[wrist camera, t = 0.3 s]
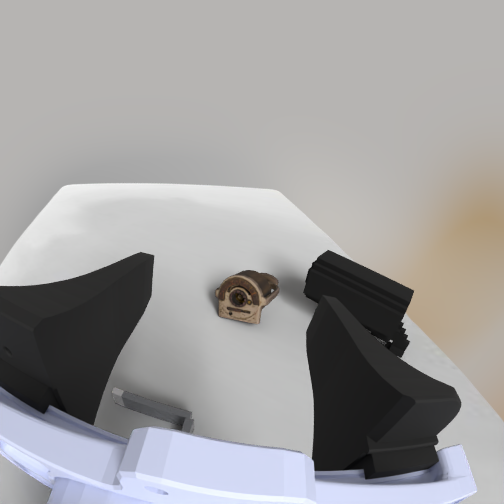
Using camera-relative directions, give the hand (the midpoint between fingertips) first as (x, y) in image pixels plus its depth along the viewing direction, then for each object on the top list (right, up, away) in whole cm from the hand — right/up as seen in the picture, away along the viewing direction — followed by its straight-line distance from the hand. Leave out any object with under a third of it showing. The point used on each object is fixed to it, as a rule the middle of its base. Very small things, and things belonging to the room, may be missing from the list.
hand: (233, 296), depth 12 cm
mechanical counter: (+1, -7, +33) cm, 34 cm away
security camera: (+16, -11, +30) cm, 36 cm away
